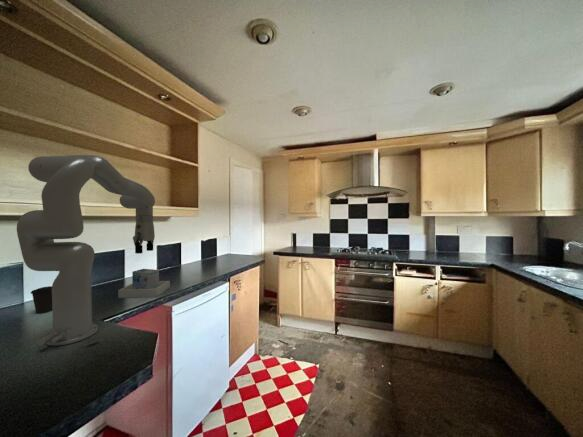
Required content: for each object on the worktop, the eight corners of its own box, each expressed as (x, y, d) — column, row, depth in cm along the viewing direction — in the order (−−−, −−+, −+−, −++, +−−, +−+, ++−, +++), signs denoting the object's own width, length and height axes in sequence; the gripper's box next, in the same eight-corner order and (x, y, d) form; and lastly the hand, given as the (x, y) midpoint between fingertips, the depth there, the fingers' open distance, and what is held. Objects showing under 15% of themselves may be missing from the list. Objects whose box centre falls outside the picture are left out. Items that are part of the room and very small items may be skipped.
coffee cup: (25, 316, 91) (24, 291, 91) (39, 308, 99) (39, 285, 99) (51, 313, 94) (50, 289, 94) (63, 306, 102) (62, 283, 102)
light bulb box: (131, 292, 117) (131, 271, 116) (143, 288, 123) (143, 268, 123) (148, 294, 114) (148, 272, 114) (159, 289, 120) (159, 269, 120)
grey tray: (156, 297, 112) (156, 289, 112) (118, 298, 111) (118, 290, 111) (169, 288, 126) (169, 280, 126) (136, 288, 125) (136, 281, 125)
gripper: (142, 218, 109) (142, 254, 109) (160, 218, 127) (160, 249, 127) (125, 219, 109) (125, 254, 109) (146, 219, 126) (146, 249, 126)
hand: (144, 251), depth 118 cm, fingers open, 9 cm apart
